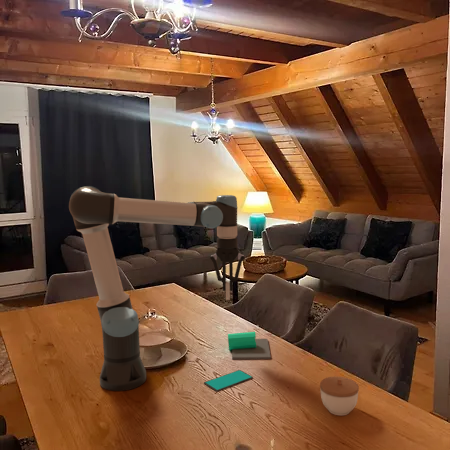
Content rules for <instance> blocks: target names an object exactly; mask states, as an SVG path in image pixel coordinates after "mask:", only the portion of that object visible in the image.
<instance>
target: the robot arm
mask: <svg viewBox="0 0 450 450" xmlns="http://www.w3.org/2000/svg"><path fill="white" fill-rule="evenodd" d="M237 199H238V197H236V196H235V195H232V194H221V195H217V196H216V199H215V200H213V201H212V200H211V201H189V202H180V201H167V200H166V201H165V200H155V199H144V198H129V197H119V196H118V195H117V193H116V194H115V193H109V192H102V191H101V190H100V189H99V188H97V187H94V186H92V185H86V186H82V187H79V188H78V187H77V188H76V189H75V190H74V191H73V193H71V196H70V198H69V202H68V209H69V212H70V215H71V216H72V219H73V222H74V226H75V230H76V231H77V232H79V233H81V234H82V239H83V241H84V242H83V243H84V246H85V248H86V249H85V250H86V253H87V257H88V261H89V264H90V268H91V272H92V275H93V279H94V283H95V287H96V291H97V295H98V298H99V299H98V301H96V307H97V312H98V315H99V320H100V326H101V332H102V346H103V347H102V348H103V363H102V367H101V370H100V375H99V386H100V387H101V388H102V389H105V390H107V391H111V392H112V391H114V392H124V391H129V390H133V389H135V388H138V387H140V386H141V385H143V384H145V382H146V380H147V370H146V367H145V365H144V363H143V359H142V357H141V349H140V332H139V331H140V330H139V329H140V328H139V326H140V320H139V314H138V312H137V311H136V310H135V309H133V305H132V301H131V298H130V294H128V293H126V292H125V291H124V288H123V283H122V280H121V277H120V272H119V267H118V264H117V260H116V256H115V252H114V247H113V244H112V241H111V237H110V233H109V228H108V227H109V225H114V224H115V223H117V222H123V223H124V222H125V223H142V224H143V223H145V224H157V225H159V224H160V225H175V226H176V225H177V226H193V227H205V228H207V229H216V236H217V238H216V246H217V247H216V248H217V249H216V250H215V253H214V254H211V255H210V260H211V262H212V264H213V267H214V271H215V274H216V278H217V281H218V282H221V283H222V291H223V292H224V291H225V300H226V301H230V300H231V291H233V290H234V283H235V282H237V281H238V280H239V275H240V271H241V266H242V262H243V261H244V260H245V255H244V254H241V253H240V250H239V248H238V238H237V236H238V200H237ZM236 258H237V259H238V261H237V265H236V270H235V274H234V271H233V270H234V269H233V268H234V267H233V263H234V261H235V260H236ZM218 259H219V261H221V262H222V263H221V265H222V266H221V267H222V271H221V272H222V275H221V273H220V268H219V263H218ZM227 263H229V264H228V265H229V266H228V267H229V268H228V269H229V271H228V272H229V274H228V275H229V281H228V280H227Z"/></svg>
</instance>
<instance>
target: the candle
mask: <svg viewBox="0 0 450 450" xmlns="http://www.w3.org/2000/svg"><path fill="white" fill-rule="evenodd" d="M256 336H257V335H256V331H248V332H247V331H246V332H236V333H235V332H234V333H228V334H227V340H228V341H227V342H228V350H229V351H232V349H244V348H256V342H255V340H260V339H261V338H257V337H256Z"/></svg>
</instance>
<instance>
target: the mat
mask: <svg viewBox="0 0 450 450" xmlns="http://www.w3.org/2000/svg"><path fill="white" fill-rule="evenodd" d="M259 339H260V340H255V342H256V348H244V349H232V350H231V359H232V360H271V359H272V357H271V351H270V350H271V349H270V345H269V339H268V338H259Z"/></svg>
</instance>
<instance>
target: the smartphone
mask: <svg viewBox="0 0 450 450" xmlns="http://www.w3.org/2000/svg"><path fill="white" fill-rule="evenodd" d="M252 379H254V378H253V376H252V375H250V374H249V373H247V372H245V371H243V370H240V369H238V370H235V371H232V372H229V373H226V374H224V375H221V376H218V377H215V378H212V379H209V380H207V381H205V382H203V385H205V386H206V387H208V388H210V390H212V391H214V392H216V393H217V392H220V391H223V390H226V389H228V388H231V387H234V386H237V385H239V384H242V383H245V382H247V381H250V380H252Z"/></svg>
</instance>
